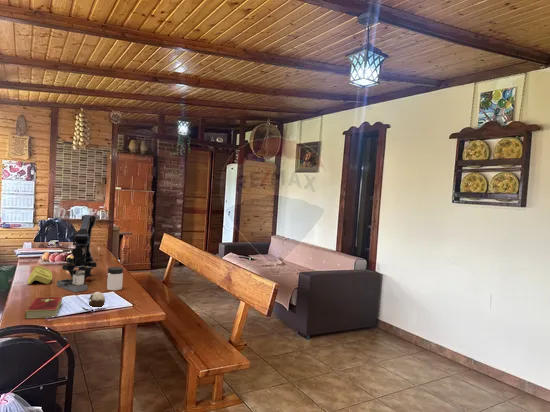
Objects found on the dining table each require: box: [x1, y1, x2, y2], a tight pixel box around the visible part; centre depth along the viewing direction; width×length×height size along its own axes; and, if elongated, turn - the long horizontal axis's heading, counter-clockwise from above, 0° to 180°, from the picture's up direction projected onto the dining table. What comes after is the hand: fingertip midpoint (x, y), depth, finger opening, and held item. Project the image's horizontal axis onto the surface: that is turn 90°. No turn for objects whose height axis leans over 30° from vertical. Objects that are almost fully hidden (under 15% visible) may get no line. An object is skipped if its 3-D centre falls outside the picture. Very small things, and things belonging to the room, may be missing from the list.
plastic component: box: [27, 265, 53, 286], centre depth 230 cm, size 20×7×10 cm
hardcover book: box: [24, 295, 64, 319], centre depth 181 cm, size 12×21×4 cm, turn 22°
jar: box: [106, 266, 124, 291], centre depth 226 cm, size 9×8×12 cm
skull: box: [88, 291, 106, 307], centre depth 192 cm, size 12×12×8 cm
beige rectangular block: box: [75, 269, 85, 276], centre depth 233 cm, size 4×5×7 cm
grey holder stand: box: [56, 274, 88, 293], centre depth 220 cm, size 7×18×8 cm, turn 59°
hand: (79, 279), depth 234 cm, fingers open, 7 cm apart
